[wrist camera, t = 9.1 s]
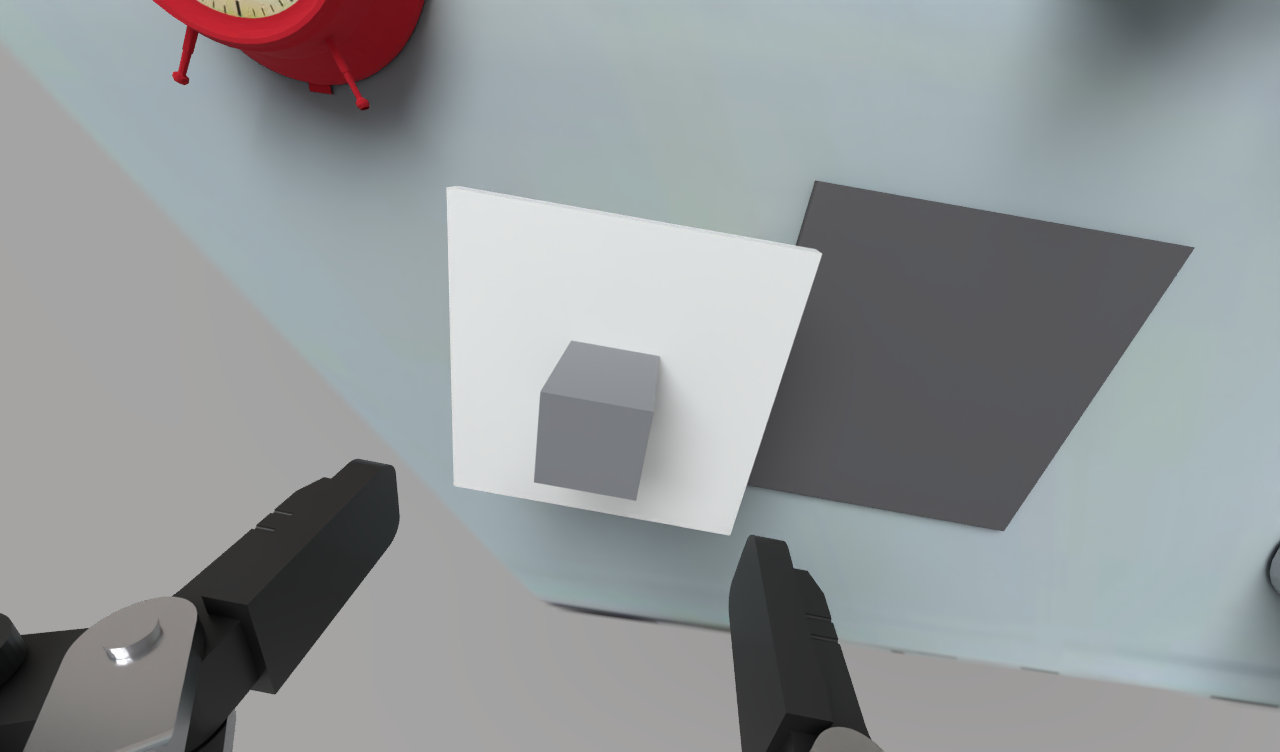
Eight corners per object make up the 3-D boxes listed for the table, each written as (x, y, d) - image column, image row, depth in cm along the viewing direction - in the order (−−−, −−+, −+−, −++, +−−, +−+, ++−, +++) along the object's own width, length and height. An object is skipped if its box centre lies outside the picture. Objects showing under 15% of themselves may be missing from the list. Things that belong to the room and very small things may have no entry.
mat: (1185, 246, 20) (1195, 247, 19) (999, 526, 27) (1003, 531, 26) (815, 180, 20) (817, 181, 19) (726, 476, 27) (726, 481, 26)
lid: (815, 249, 15) (869, 285, 11) (728, 522, 20) (740, 620, 16) (457, 185, 15) (369, 196, 11) (461, 474, 20) (403, 559, 16)
